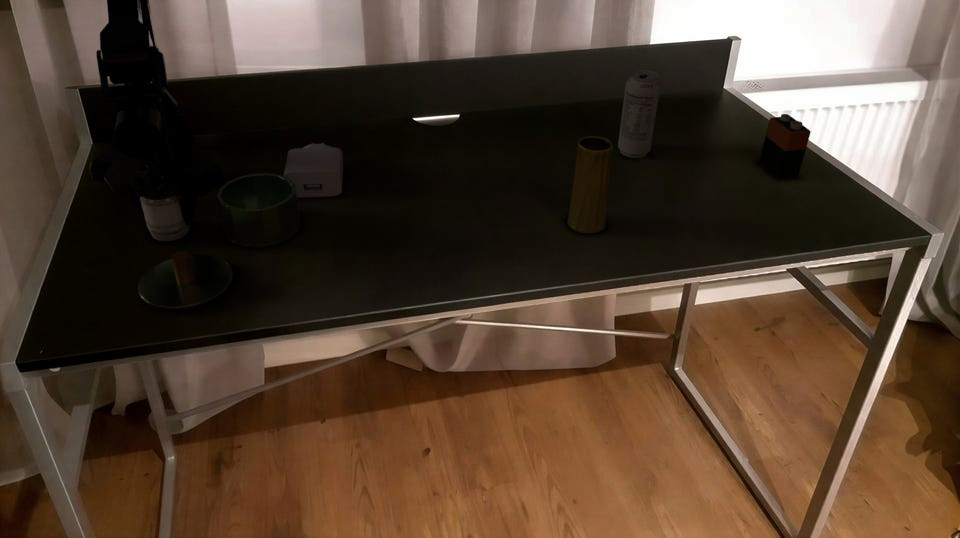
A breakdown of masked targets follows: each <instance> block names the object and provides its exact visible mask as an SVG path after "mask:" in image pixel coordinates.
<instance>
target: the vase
mask: <svg viewBox="0 0 960 538" xmlns="http://www.w3.org/2000/svg"><path fill="white" fill-rule="evenodd" d="M613 150H614V144H613V142H612V141H611V140H610V139H608V138H606V137H604V136H599V135H586V136H583V137H581V138H580V139H579V140H578V142H577V151H576V158H575V159H576V160H575V168H574V175H573V182H572V190H571V191H572V192H571V197H570V204H569V205H570V206H569V212H568V218H567V221H566V222H567V225H568V226H569V228H570V229H571V230H573V231H575V232H577V233H581V234H597V233H599V232H602V231H603V230H604V229H605V228H606V227H607V222H606V221H607V220H606V219H607V210H608V209H607V208H608V196H609V183H610V173H611V166H612V165H611V164H612V157H613V152H614V151H613Z"/></svg>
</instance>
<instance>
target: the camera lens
mask: <svg viewBox="0 0 960 538" xmlns="http://www.w3.org/2000/svg"><path fill="white" fill-rule="evenodd" d="M177 189H178V183H175V182H172V181H160V182H159V184H158V185H157V187H156V188H155V189H154V190H152V189H147V190H146V193H145V194H144V196H142V197H140V201H141V204H142V208H143V212H144V216H145V218H144V220H145V224H146V227H147V229H148V231H149V233H150V234H151V237H152V238H153V239H154V240H157V241H160V242H171V241H177V240H180V239H182V238H184V237H186V236H187V235H188V233H190V228H191V227H190V226H191V223H190V224H189V225H186V224H185V222H184V219H183V216H182V212H181V207H180V203H179V199H178V198H177V197H175V196H173V195H172V193H174V192H175V191H176V190H177ZM144 216H143V217H144Z"/></svg>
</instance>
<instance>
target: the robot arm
mask: <svg viewBox="0 0 960 538" xmlns="http://www.w3.org/2000/svg"><path fill="white" fill-rule="evenodd" d="M106 6H107V7H106V8H107V19H108V20H107V21H108V22H107V23H106V25H105V26H104V27H103V29H101V31H100V32H99V49H97V50H96V51H95V52H96V54H95V55H96V62H97V68H98V76H99V82H100V88H101V94H102V101H103V103H104V104H106V103H116V106H117V115H116V120H115V127H114V132H113V142H114V145H115V146H116V148H114V147H110V148H108V149H107V150H105V151H103V152H102V153H101V154H100V155H98V156H97V157H95V158H94V159H92V160H91V162H90V165H89V172H90V175H91V178H92V180H93V181H98V182H104V183H107V185H108V186H109V188H110V189H111V191H112V193H113V194H114V195H115V196H118V197H121V196H124V197H129V199H130V200H131V201H132V203H133V204H134V206H135V207H136V208H137V210H138V211H139V212H140V214H141V215H142V216H143V218H144V219H145V216H144V212H143V208H142V204H141V201H140V197H142V196H144V194H145V193H146V190H147V189H152V190H154V189H155V188H156V187H157V185H158V184H159V182H160V181H172V182H175V183H178V189H177V190H176V191H175V192H174V193H172V195H173V196H175V197H177V198H178V199H179V203H180V207H181V212H182V216H183V219H184V222H185V224H186V225H189V224H190V225H191V223H192V222H193V218H194V214H195V211H196V208H197V203H198V200H199V197H204V196H207V195H208V194H209V193H210V192H211V191H213V189H214V188H216V187H217V186H218V185H219V184H220V183H221V182H222V181H223V180H224V172H223V168H222V166H221V165H220V164H218V163H217V162H212V161H204V160H198V159H195V160H194V161H193V159H192V155H191V154H190V153H189V150H191V149H192V146H194V145H195V144H196V140H195V136H194V131H193V129H192V124H191V122H189V120H187V118H186V116H185V114H184V113H181V110H180V105H179V103H178V102H177V100H176V99H175V98H174V97H173V96H172V94H171V93H170V92H169V91H168V89H166V88H169V82H168V75H167V68H166V60H165V55H164V53H162V52H161V51H160V49H159V47H158V42H157V41H158V40H157V37H156V36H157V35H156V31H155V27H154V21H153V15H152V10H151V5H150V0H106ZM109 82H110V83H111V84H113V85H122V86H115V87H110V86H109Z"/></svg>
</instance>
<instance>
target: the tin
mask: <svg viewBox="0 0 960 538" xmlns="http://www.w3.org/2000/svg"><path fill="white" fill-rule="evenodd" d="M216 201H217V206H218V210H219V215H220V221H221V226H222V231H223V232H224V233H223V234H224V237H225V238H226V239H227V240H228V241H229V242H230V243H232V244H233V245H236V246H239V247H244V248H252V249H253V248H255V249H256V248H257V249H259V248H267V247H268V248H269V247H273V246H276V245H279V244H282V243H285V242H286V241H289V240H290V239H292V238H293V237H294V236H295V235H296V234H297V233H298V232H299V230H300V228H301V214H300V207H299V199H298V198H297V190H296V185H295V184H294V183H293V182H292V180H291V179H289V178H286V177H284V175H282V174H277V173H270V172H262V173H261V172H260V173H249V174H246V175H240V176H238V177H236V178H233V179H231V180H229V181H227V182H225V183H224V184H223V185H222V186H221V187H220V188H219V189H218V191H217V195H216Z"/></svg>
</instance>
